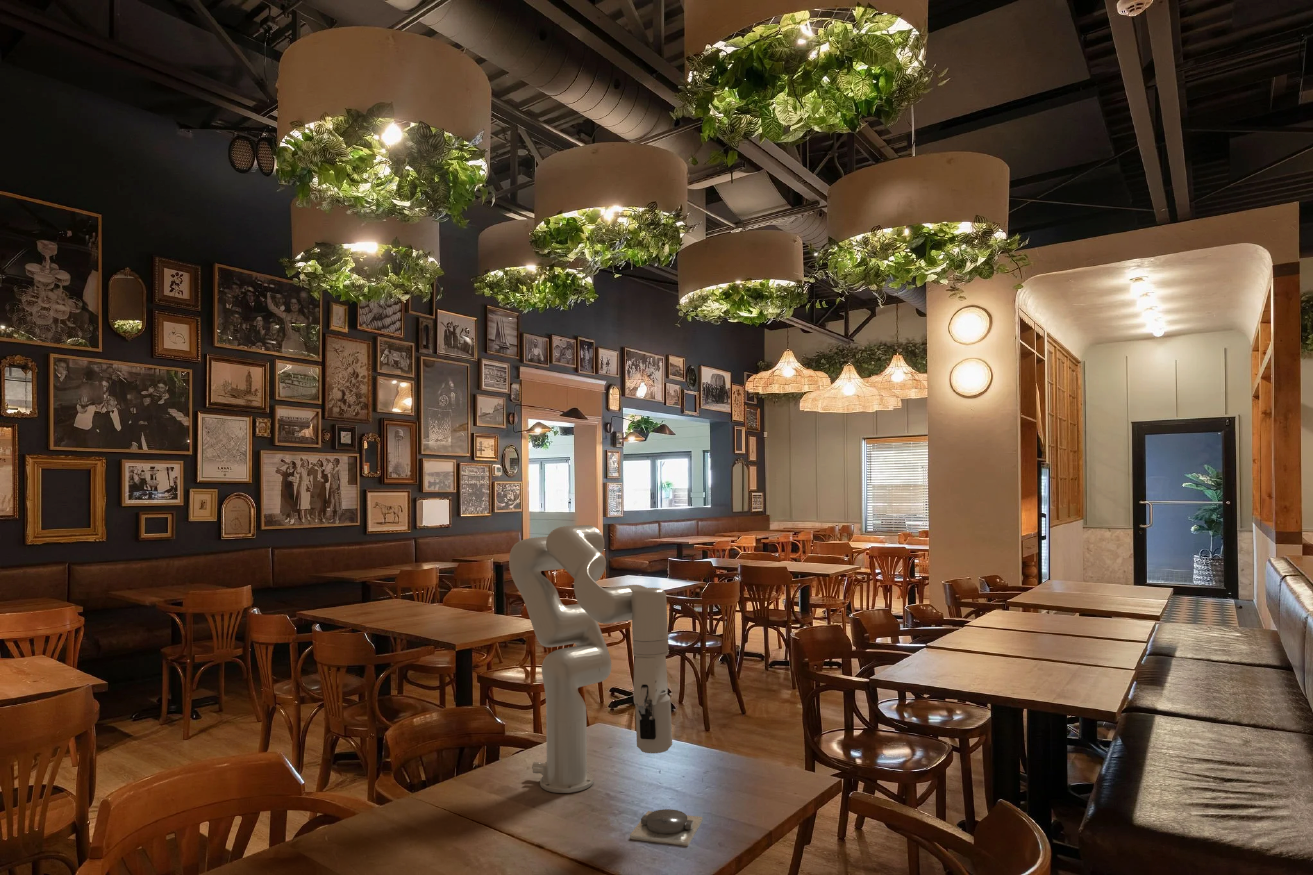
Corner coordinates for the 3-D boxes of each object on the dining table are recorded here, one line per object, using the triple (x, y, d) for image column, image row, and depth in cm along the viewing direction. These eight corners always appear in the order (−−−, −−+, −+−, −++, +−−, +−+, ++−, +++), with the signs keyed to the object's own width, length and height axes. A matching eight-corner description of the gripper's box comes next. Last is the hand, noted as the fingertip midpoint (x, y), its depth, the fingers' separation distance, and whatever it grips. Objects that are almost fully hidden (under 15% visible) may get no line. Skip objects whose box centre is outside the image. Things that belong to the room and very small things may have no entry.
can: (678, 745, 167) (675, 687, 168) (663, 756, 160) (661, 695, 161) (646, 742, 170) (644, 685, 171) (630, 752, 163) (628, 693, 164)
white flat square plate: (630, 838, 158) (629, 826, 158) (648, 814, 169) (647, 803, 169) (688, 846, 154) (687, 833, 154) (702, 820, 166) (702, 809, 166)
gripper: (646, 640, 176) (649, 721, 175) (620, 654, 160) (623, 744, 158) (678, 640, 174) (682, 722, 173) (655, 655, 157) (659, 746, 156)
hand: (654, 732), depth 165 cm, fingers closed on can, 7 cm apart
